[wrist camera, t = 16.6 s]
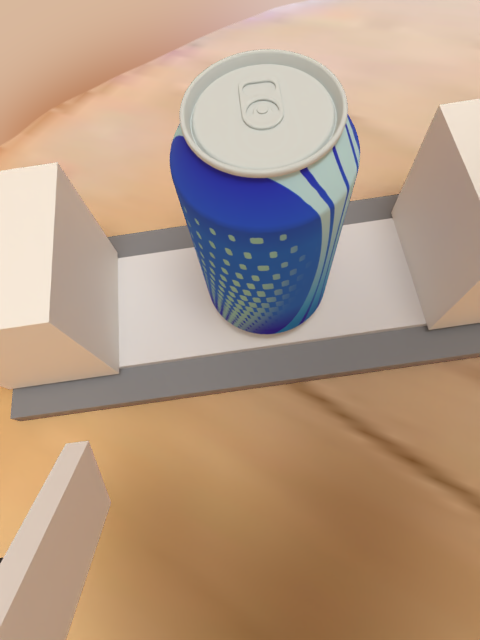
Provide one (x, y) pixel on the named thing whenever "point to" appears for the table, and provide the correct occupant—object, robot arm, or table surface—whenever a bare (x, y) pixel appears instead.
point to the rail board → (198, 309)
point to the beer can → (265, 183)
